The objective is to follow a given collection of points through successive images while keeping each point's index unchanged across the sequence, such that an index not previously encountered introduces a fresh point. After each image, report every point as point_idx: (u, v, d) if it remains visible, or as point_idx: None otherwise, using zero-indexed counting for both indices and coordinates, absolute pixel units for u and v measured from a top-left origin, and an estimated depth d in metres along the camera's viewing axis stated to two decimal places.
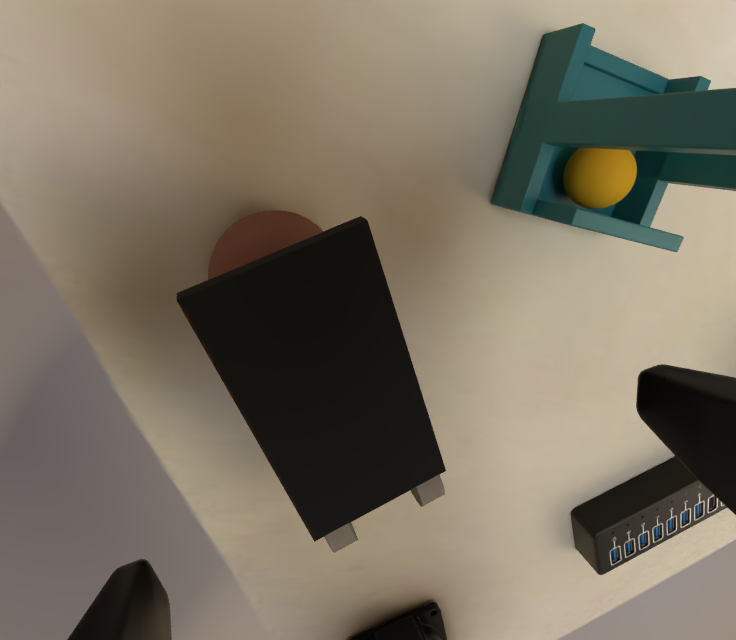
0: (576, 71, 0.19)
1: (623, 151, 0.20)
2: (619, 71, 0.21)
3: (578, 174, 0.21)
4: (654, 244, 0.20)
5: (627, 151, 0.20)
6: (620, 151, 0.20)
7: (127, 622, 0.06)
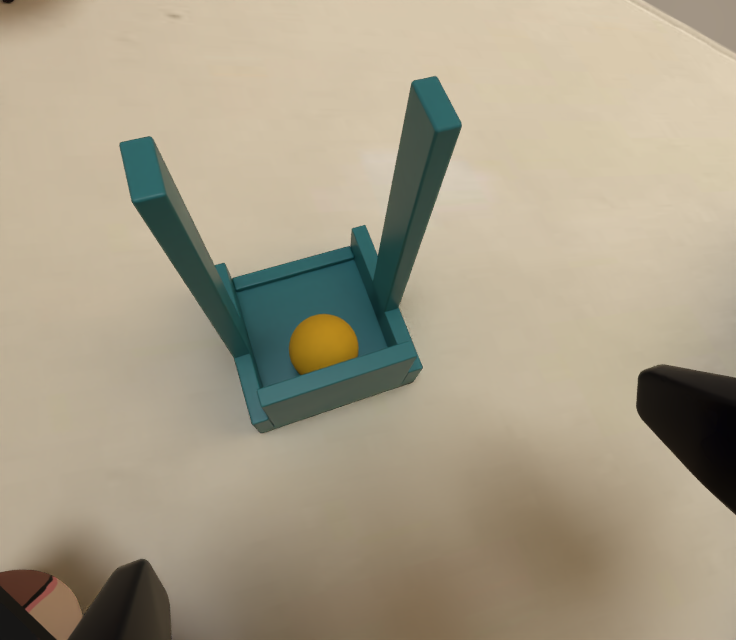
0: None
1: (313, 320, 0.20)
2: (297, 269, 0.23)
3: (293, 362, 0.20)
4: (380, 366, 0.18)
5: (318, 318, 0.20)
6: (309, 322, 0.20)
7: (127, 622, 0.06)
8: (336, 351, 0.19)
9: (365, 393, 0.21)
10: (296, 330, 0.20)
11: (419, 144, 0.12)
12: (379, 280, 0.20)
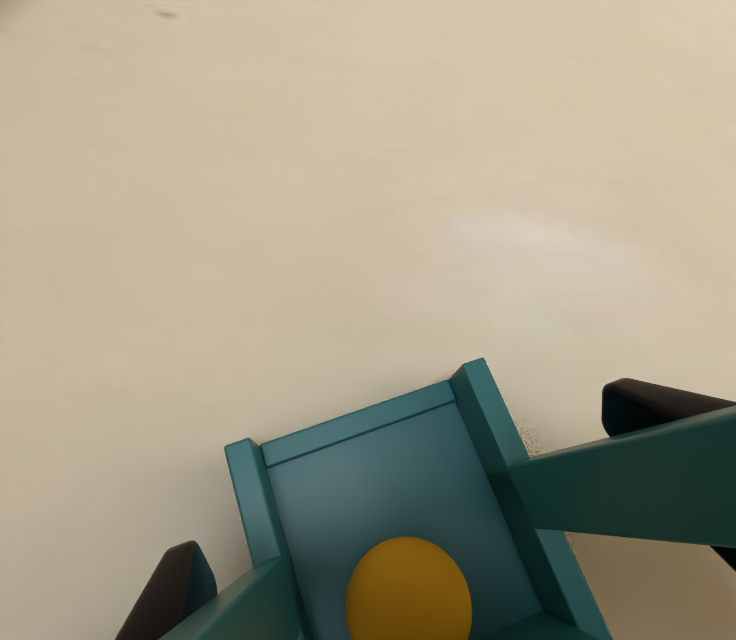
0: (257, 504, 0.12)
1: (375, 573, 0.11)
2: (366, 425, 0.14)
3: None
4: None
5: (384, 565, 0.11)
6: (369, 577, 0.11)
7: (186, 598, 0.06)
8: None
9: None
10: (351, 585, 0.11)
11: None
12: (536, 487, 0.11)
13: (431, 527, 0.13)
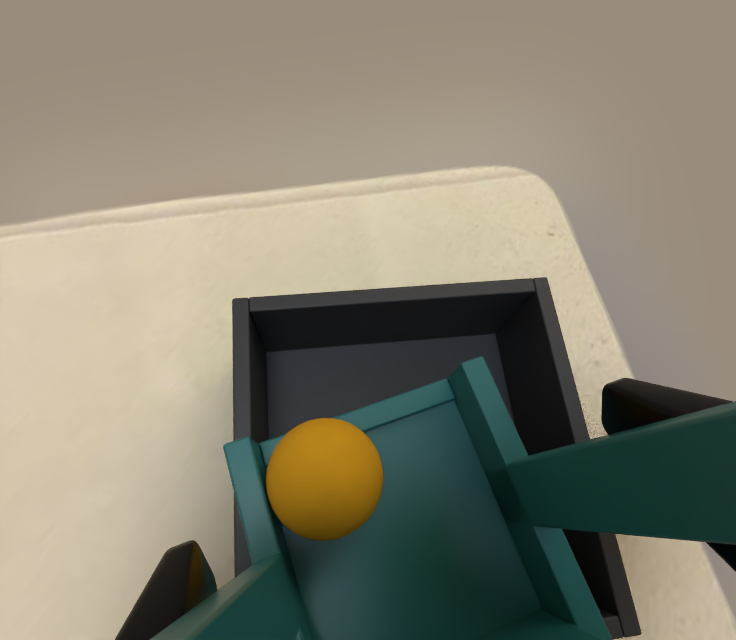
0: (256, 503, 0.12)
1: None
2: (365, 423, 0.14)
3: (281, 514, 0.11)
4: None
5: None
6: None
7: (186, 598, 0.06)
8: None
9: None
10: None
11: None
12: (535, 485, 0.11)
13: (429, 526, 0.13)
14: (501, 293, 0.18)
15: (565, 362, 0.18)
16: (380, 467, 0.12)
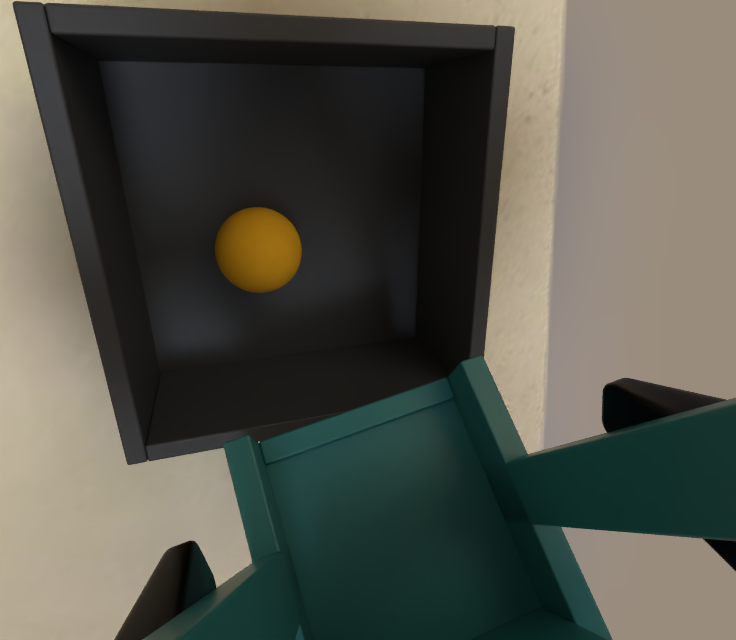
0: (256, 501, 0.12)
1: (222, 224, 0.16)
2: (365, 422, 0.14)
3: None
4: None
5: None
6: (220, 227, 0.16)
7: (186, 598, 0.06)
8: (235, 262, 0.16)
9: None
10: None
11: None
12: (534, 483, 0.11)
13: (429, 525, 0.14)
14: (449, 47, 0.13)
15: (498, 159, 0.15)
16: None
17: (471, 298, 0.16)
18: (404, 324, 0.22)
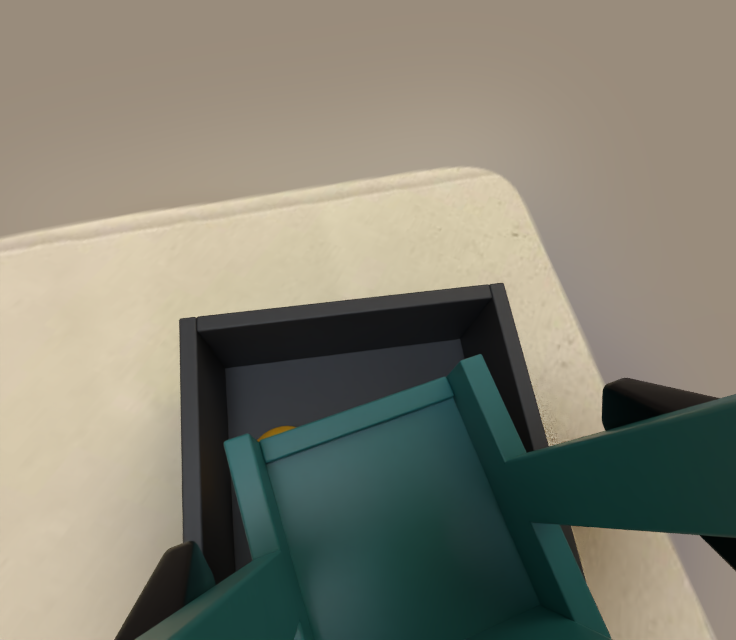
0: (256, 499, 0.12)
1: None
2: (364, 421, 0.14)
3: None
4: None
5: None
6: None
7: (185, 599, 0.06)
8: (274, 428, 0.19)
9: None
10: None
11: None
12: (533, 482, 0.11)
13: (428, 523, 0.14)
14: (457, 301, 0.18)
15: (523, 369, 0.17)
16: None
17: None
18: None
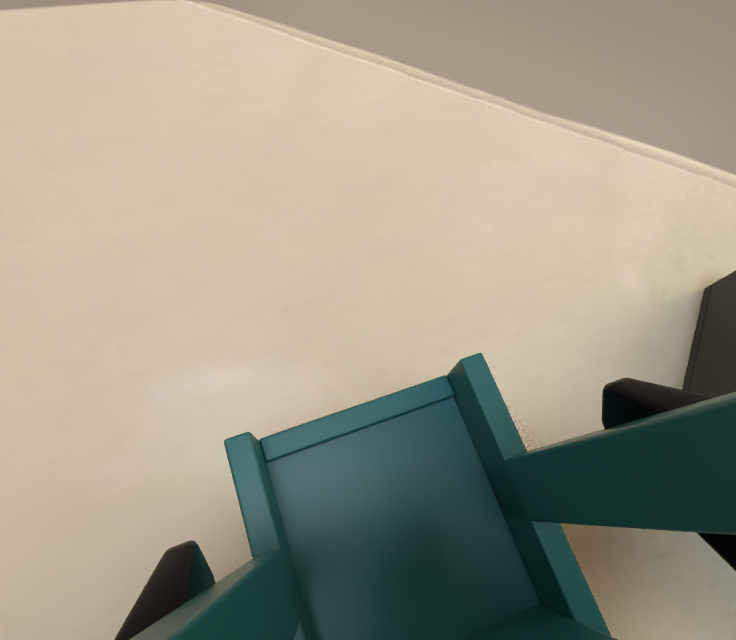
0: (256, 497, 0.12)
1: None
2: (365, 420, 0.14)
3: None
4: None
5: None
6: None
7: (186, 599, 0.06)
8: None
9: None
10: None
11: None
12: (533, 480, 0.11)
13: (429, 521, 0.14)
14: None
15: None
16: None
17: None
18: None
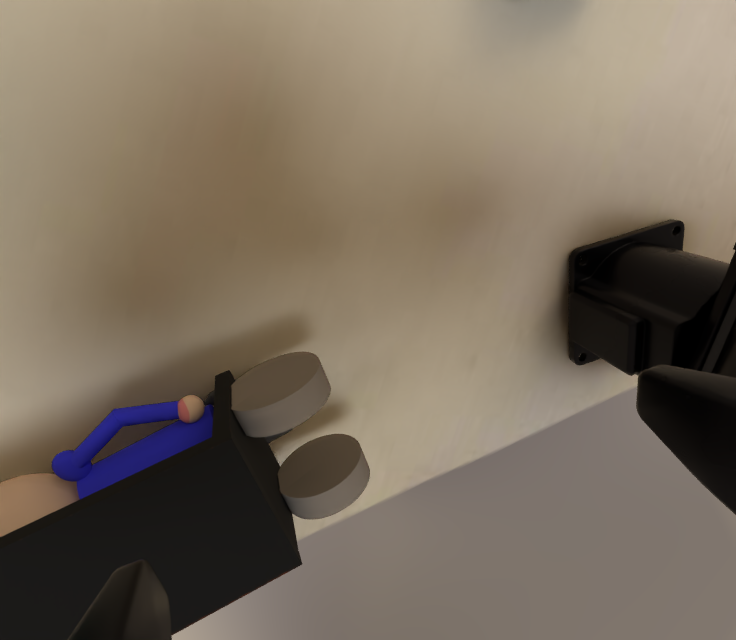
0: None
1: None
2: None
3: None
4: None
5: None
6: None
7: (127, 622, 0.06)
8: None
9: None
10: None
11: None
12: None
13: None
14: None
15: None
16: None
17: None
18: None
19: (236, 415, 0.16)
